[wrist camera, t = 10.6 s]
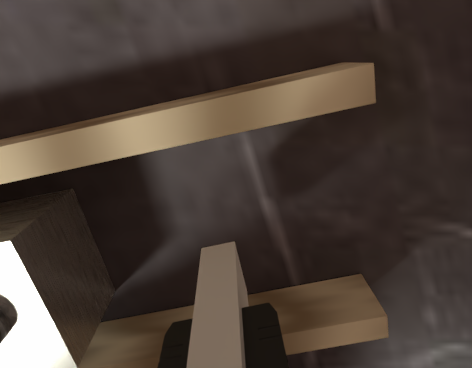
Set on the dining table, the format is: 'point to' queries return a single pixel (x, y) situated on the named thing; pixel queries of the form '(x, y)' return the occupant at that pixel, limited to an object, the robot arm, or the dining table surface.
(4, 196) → the dining table surface
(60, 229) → the block
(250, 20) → the dining table surface
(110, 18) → the dining table surface
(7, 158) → the channel
